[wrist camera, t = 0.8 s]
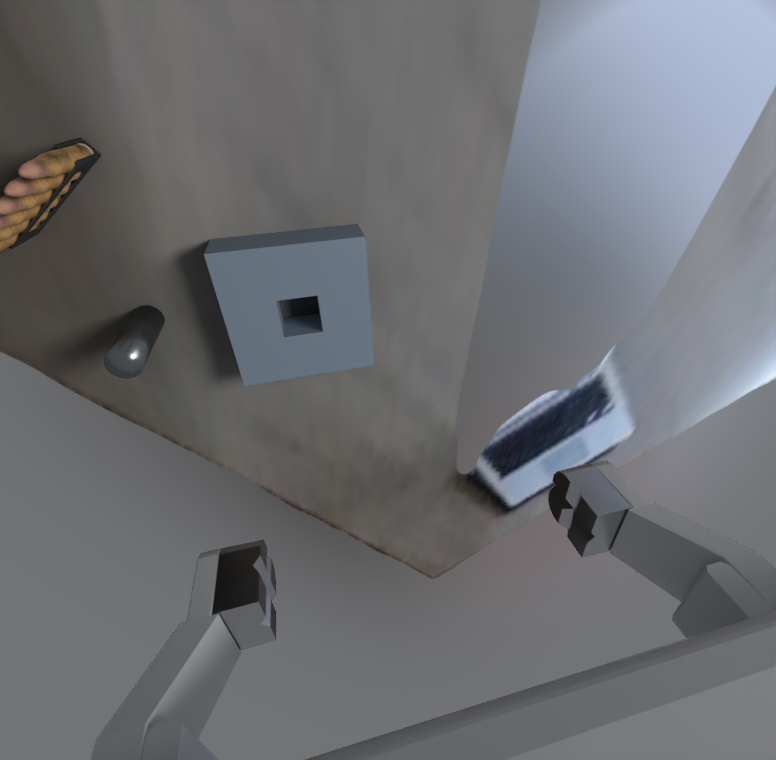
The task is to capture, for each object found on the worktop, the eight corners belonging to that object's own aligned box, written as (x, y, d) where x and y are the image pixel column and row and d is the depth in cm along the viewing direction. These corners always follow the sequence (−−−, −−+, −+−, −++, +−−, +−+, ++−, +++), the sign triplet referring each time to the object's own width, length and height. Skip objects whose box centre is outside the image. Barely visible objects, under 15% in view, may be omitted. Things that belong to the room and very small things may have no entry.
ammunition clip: (36, 235, 40) (-39, 280, 30) (15, 221, 39) (-70, 262, 29) (101, 154, 37) (43, 175, 28) (80, 136, 36) (12, 151, 27)
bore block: (210, 239, 43) (203, 254, 39) (357, 224, 46) (365, 236, 42) (246, 364, 53) (244, 386, 49) (367, 345, 55) (374, 365, 51)
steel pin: (128, 307, 45) (97, 352, 38) (158, 303, 46) (134, 347, 38) (139, 332, 47) (112, 380, 39) (168, 328, 48) (147, 375, 40)
